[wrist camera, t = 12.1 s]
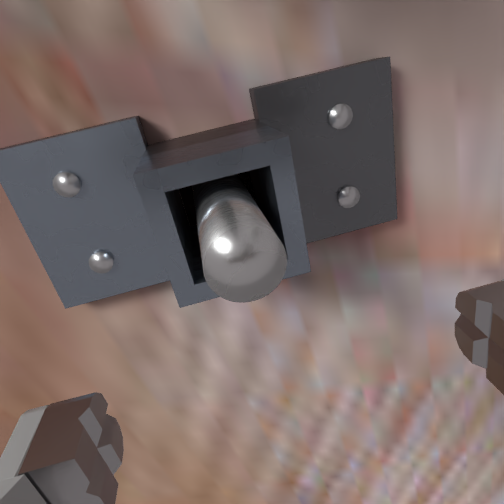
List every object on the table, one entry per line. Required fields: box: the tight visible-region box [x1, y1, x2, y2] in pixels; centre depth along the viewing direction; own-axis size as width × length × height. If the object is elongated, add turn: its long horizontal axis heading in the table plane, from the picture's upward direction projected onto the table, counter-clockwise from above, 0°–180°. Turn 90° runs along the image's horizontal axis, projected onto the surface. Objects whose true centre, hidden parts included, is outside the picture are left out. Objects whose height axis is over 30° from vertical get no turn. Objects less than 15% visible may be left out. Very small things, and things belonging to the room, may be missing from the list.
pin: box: [192, 174, 287, 302], centre depth 19 cm, size 3×3×12 cm
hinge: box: [0, 57, 397, 309], centre depth 21 cm, size 23×10×8 cm, turn 103°
